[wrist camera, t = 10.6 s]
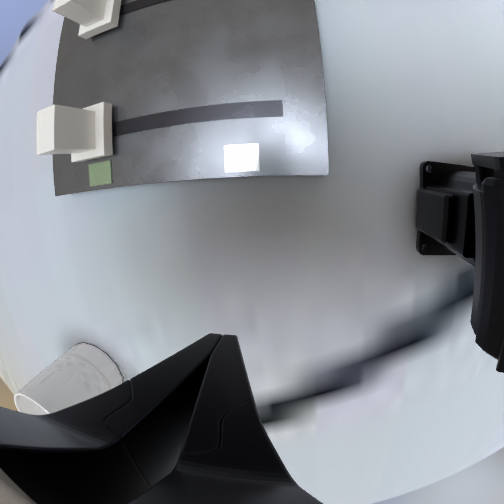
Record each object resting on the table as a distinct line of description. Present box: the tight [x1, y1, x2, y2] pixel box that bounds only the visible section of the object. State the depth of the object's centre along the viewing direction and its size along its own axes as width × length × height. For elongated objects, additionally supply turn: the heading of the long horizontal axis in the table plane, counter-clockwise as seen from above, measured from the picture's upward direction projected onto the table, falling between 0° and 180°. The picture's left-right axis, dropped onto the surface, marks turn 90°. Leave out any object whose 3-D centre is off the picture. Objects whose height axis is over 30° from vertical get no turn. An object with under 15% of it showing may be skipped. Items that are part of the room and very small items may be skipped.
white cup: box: [14, 343, 122, 415], centre depth 21 cm, size 8×8×10 cm
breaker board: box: [53, 0, 329, 196], centre depth 16 cm, size 20×18×2 cm
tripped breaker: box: [37, 102, 113, 162], centre depth 14 cm, size 3×4×5 cm
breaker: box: [53, 0, 121, 39], centre depth 12 cm, size 3×4×5 cm
